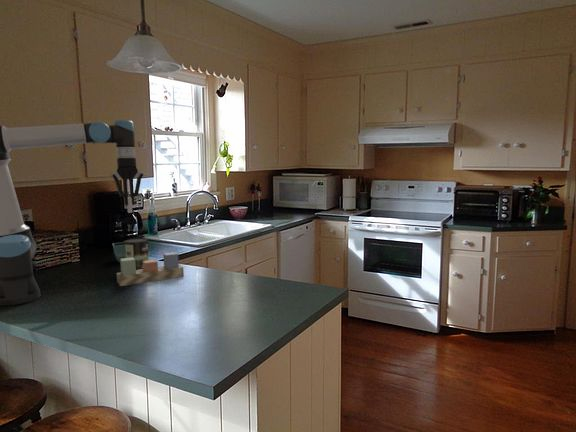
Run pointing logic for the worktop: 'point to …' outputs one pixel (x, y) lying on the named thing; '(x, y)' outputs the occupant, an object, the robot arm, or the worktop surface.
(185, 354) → the worktop surface
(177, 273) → the socket rail
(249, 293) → the worktop surface
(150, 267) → the terracotta block
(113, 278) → the worktop surface
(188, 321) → the worktop surface
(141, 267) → the coffee can
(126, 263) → the sage block
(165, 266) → the slate block
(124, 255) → the flower pot
